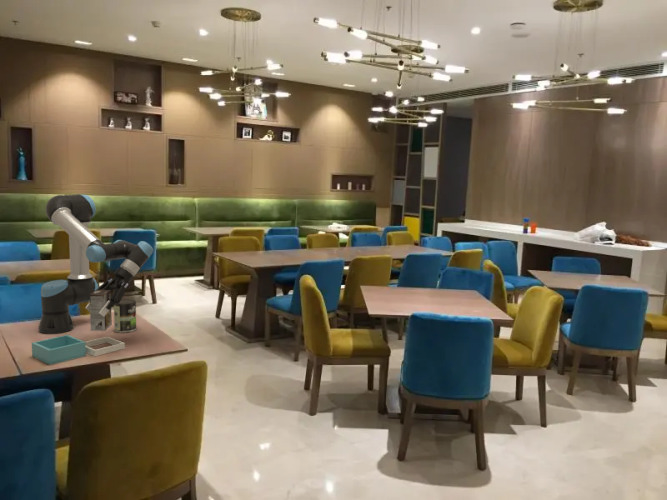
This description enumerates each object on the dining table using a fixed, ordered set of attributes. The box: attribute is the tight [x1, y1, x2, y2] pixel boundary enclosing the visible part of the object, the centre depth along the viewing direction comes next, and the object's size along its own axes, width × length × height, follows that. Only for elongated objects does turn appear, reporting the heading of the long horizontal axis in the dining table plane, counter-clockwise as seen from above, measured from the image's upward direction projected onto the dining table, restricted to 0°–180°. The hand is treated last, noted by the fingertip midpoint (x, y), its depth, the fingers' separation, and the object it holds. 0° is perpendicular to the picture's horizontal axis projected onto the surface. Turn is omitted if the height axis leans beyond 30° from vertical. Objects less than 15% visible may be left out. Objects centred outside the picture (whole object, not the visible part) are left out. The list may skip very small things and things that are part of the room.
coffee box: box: [89, 290, 113, 332], centre depth 241 cm, size 9×6×16 cm
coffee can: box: [113, 298, 137, 334], centre depth 272 cm, size 10×10×14 cm
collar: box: [84, 336, 126, 357], centre depth 244 cm, size 14×14×2 cm
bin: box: [31, 334, 87, 366], centre depth 233 cm, size 15×15×6 cm
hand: (94, 312), depth 239 cm, fingers closed on coffee box, 10 cm apart
